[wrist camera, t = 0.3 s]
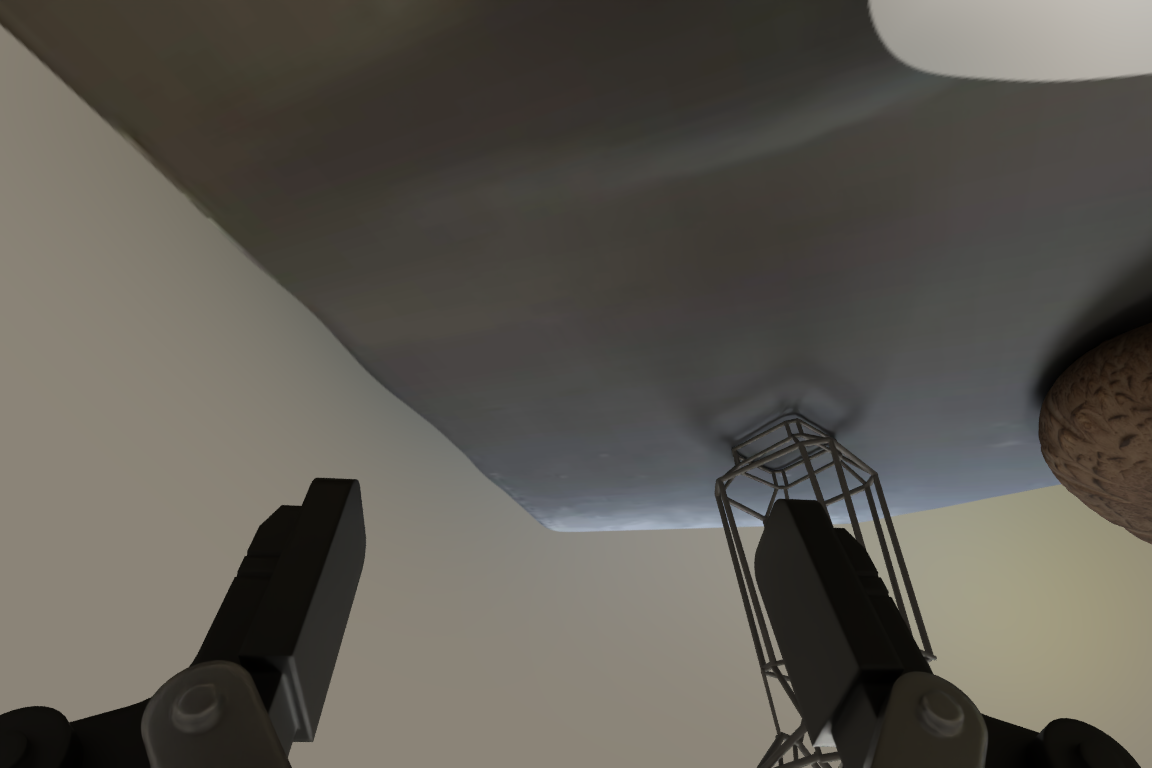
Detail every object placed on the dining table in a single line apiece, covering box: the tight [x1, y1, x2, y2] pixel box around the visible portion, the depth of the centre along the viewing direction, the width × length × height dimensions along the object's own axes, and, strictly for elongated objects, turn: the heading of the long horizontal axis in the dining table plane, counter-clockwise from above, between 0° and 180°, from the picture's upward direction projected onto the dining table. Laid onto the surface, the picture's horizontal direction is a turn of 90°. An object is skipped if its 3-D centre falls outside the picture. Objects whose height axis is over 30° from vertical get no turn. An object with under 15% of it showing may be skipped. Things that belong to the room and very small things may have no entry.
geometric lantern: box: [715, 418, 937, 768], centre depth 56 cm, size 16×16×35 cm
